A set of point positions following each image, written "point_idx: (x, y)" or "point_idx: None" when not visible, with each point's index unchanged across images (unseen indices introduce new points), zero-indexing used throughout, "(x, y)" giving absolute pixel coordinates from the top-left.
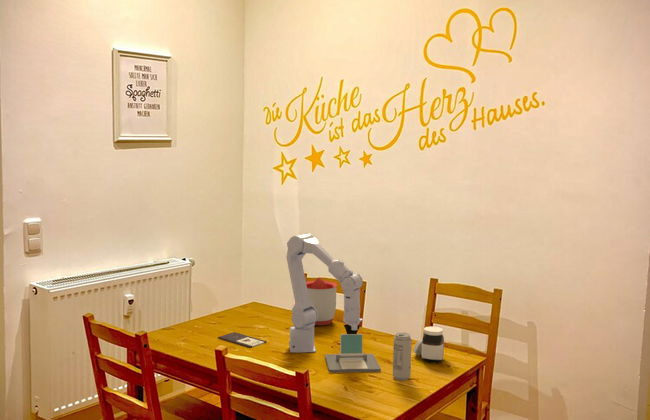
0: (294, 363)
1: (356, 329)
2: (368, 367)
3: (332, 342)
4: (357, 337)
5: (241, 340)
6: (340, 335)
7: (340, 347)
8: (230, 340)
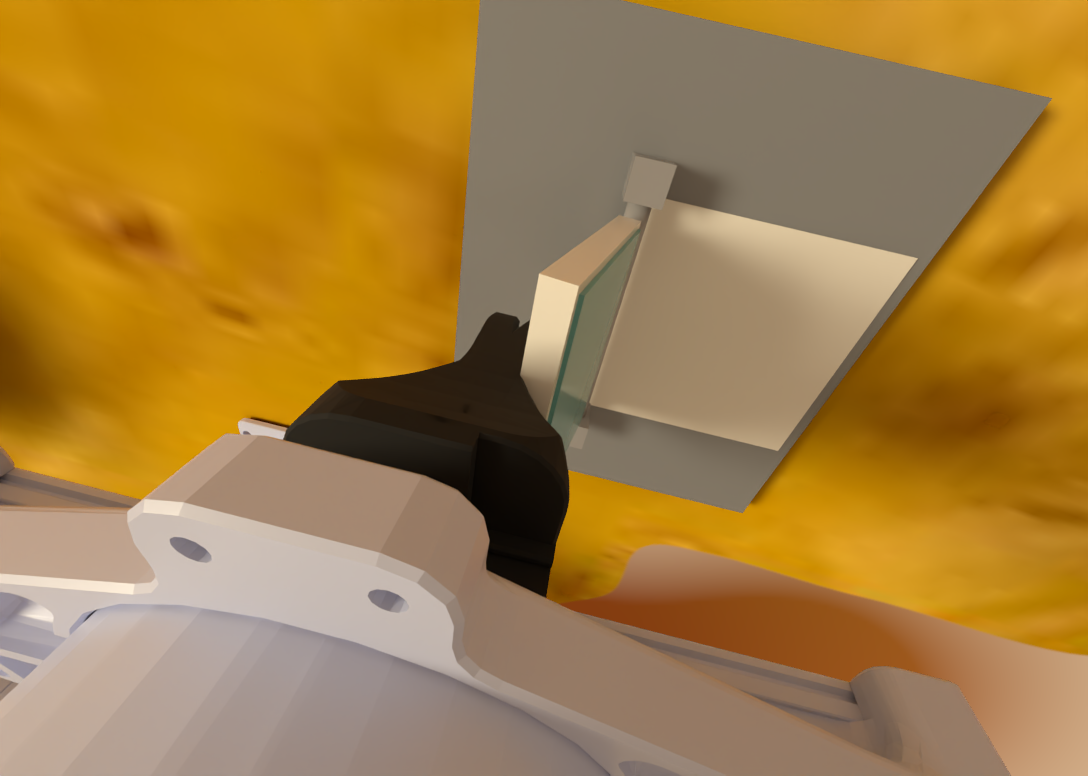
0: None
1: (952, 715)
2: (889, 237)
3: (128, 276)
4: (576, 353)
5: None
6: None
7: None
8: None
